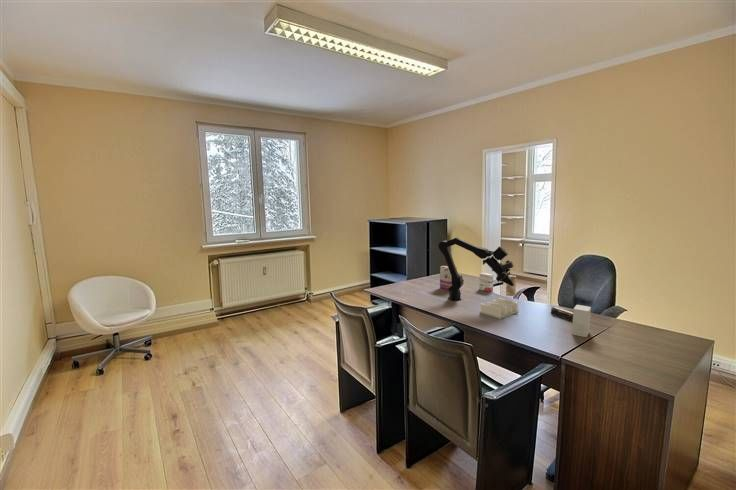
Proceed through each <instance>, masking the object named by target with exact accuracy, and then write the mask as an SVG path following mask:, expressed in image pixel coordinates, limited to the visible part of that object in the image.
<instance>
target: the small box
mask: <svg viewBox="0 0 736 490" xmlns="http://www.w3.org/2000/svg"><path fill="white" fill-rule="evenodd" d="M591 312H592V307H591V306H588V305H582V304H576V305H575V306H574V307H573V321H572V328H571V329H572V330H571V335H574V336H578V337H583V338H588V335H589V333H590V329H591V328H590V324H591V315H592V314H591Z"/></svg>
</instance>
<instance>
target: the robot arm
mask: <svg viewBox="0 0 736 490" xmlns="http://www.w3.org/2000/svg"><path fill="white" fill-rule="evenodd" d="M454 245H456V246H458V247H460V248H463V249H465V250H467V251H470V252H471V253H472V254H474V255H475V256H477V257H478V258H480V259H482V265H485V264H486V265H488V267H489V268H491V271H492V272H494V273H495V274H496V278H495V279H496V280H495V281H497V282H498V283H499V282H501V283H504V284H509V285H511V286H513V285H514V284H513V283H512V281H511V280H510V279H509V275H511V270H512V269H513V268H514V264H513V262H512V261H511V260H509V259H508V260H506V261H505V263H503V264H502V262H499V261H502V260H503V259H505V258H506V257H507V256H508V255H509V254H508V252H507V251H506V250H505V249H504V248H503V247H501V246H498V247H497V248H496V249H495V250H494V251H492V250H489V249H488V248H486V247H482V246H476V245H474V244H472V243H469V242H467V241H466V240H463V239H461V238H459V237H458V236H457V237H454V238H452V239H449V240H442V241H440V242H438V245H437V247H438V249H439V251H440V253H441V254H442V255H443V257H444V259H445V262H446V266H448V268H449V271H450V274H451V281H452V285H451V286H450V287H449V290H448V297H447V299H448V300H450V301H453V302H454V301H461V300H462V299H461V297H462V296H461V295H462V292H461V288H462V287H463V286H464V282H465V280H464V278H463V275H462V274H461V275H460V274H459V273H458V269H457V270H456V268H457V267H456V264H455V262H454V259H453V256H452V254H451V246H454Z"/></svg>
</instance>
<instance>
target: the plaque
mask: <svg viewBox="0 0 736 490" xmlns="http://www.w3.org/2000/svg"><path fill="white" fill-rule="evenodd" d="M509 279H510V280H511V281H512V283H513V284H514V285H513V286H511V285H509V284H506V283H505V284H506V285H505V296H508V297H515V296H516V287H517V275H512V274H510V275H509Z"/></svg>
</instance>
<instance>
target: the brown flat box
mask: <svg viewBox="0 0 736 490" xmlns="http://www.w3.org/2000/svg"><path fill="white" fill-rule="evenodd" d="M550 314H551V315H554V316H557V317H560V318H562V319H565V320H568V321H571V322H573V312H572V311H569V310H567V309H562V308H560V307H558V306H557V307H556V306H553V307H551V311H550Z"/></svg>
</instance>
